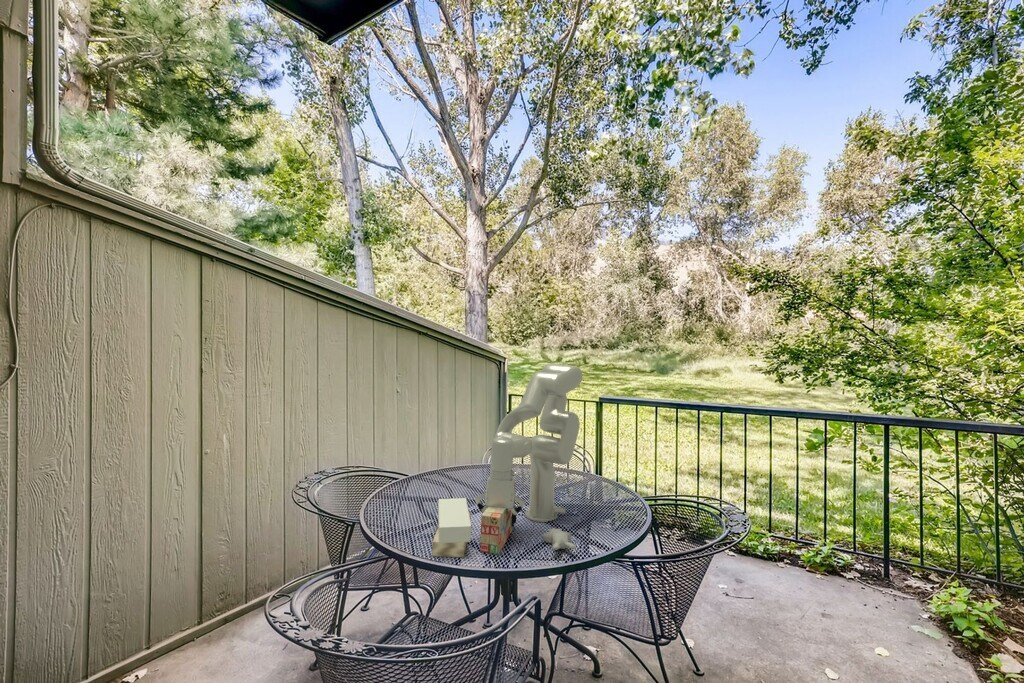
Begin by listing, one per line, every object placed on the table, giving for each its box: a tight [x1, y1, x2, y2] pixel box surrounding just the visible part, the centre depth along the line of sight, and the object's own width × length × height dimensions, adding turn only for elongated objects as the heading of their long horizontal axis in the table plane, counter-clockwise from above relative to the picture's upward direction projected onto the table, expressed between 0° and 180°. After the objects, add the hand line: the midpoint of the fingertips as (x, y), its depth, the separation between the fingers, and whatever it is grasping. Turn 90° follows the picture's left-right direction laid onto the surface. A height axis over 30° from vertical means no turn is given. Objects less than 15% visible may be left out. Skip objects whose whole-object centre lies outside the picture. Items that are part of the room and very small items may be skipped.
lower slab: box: [431, 511, 472, 558], centre depth 154 cm, size 10×24×5 cm, turn 0°
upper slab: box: [437, 497, 472, 543], centre depth 154 cm, size 10×24×5 cm, turn 10°
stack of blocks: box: [479, 504, 516, 555], centre depth 155 cm, size 21×6×12 cm, turn 166°
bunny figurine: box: [542, 528, 577, 551], centre depth 151 cm, size 10×5×15 cm
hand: (498, 523), depth 154 cm, fingers open, 9 cm apart
